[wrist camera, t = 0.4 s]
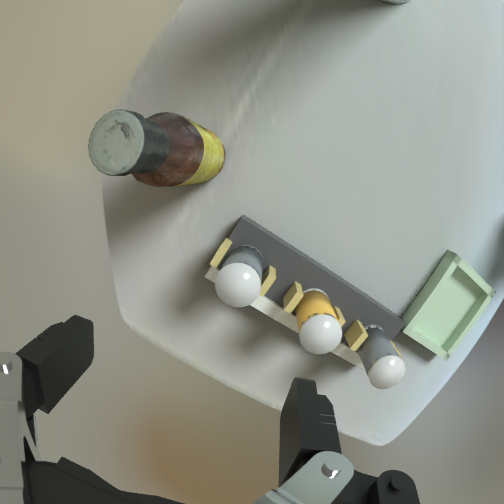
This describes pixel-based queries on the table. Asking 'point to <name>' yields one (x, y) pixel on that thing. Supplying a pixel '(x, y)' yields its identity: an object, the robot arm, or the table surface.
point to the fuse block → (299, 278)
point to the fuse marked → (317, 322)
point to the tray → (447, 306)
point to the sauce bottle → (155, 148)
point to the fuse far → (380, 358)
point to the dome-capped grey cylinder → (240, 277)
